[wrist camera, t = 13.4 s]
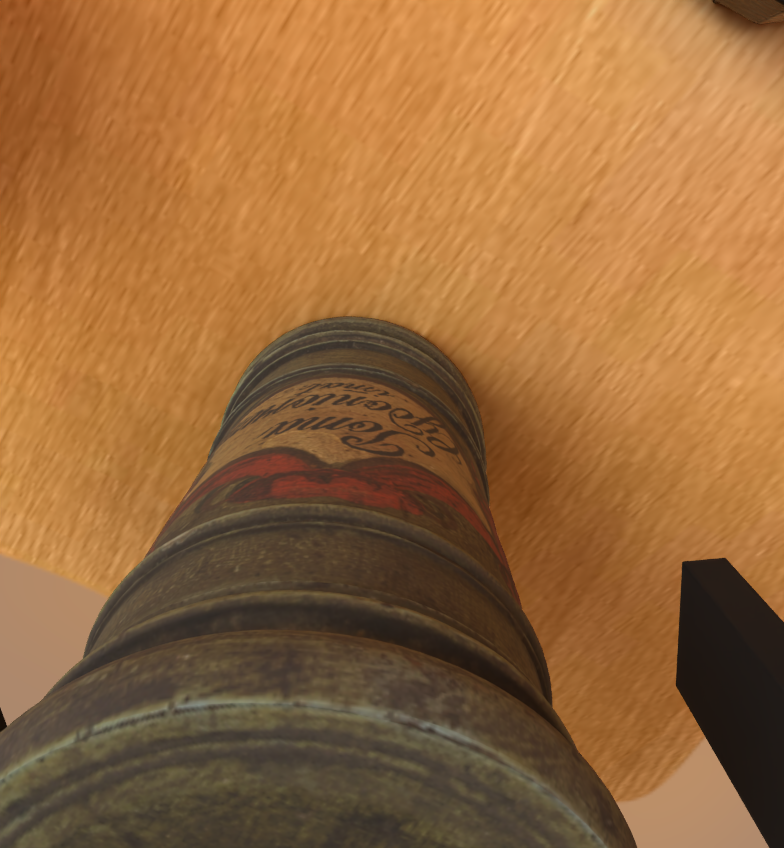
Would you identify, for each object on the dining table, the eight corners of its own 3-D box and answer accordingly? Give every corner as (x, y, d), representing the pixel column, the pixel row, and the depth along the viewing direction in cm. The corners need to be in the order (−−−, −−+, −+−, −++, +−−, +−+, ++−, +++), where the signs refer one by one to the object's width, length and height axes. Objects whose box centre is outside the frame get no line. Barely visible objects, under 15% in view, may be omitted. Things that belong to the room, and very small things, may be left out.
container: (485, 539, 26) (680, 1226, 9) (250, 556, 26) (-14, 1263, 9) (476, 302, 23) (742, 633, 6) (211, 323, 23) (-298, 707, 6)
